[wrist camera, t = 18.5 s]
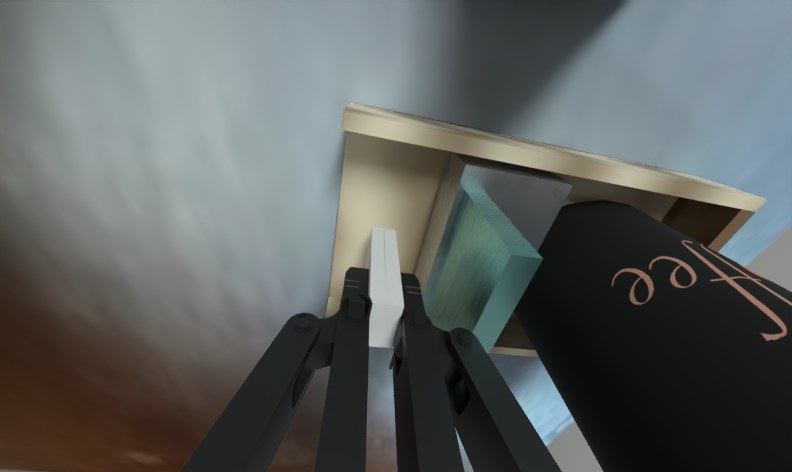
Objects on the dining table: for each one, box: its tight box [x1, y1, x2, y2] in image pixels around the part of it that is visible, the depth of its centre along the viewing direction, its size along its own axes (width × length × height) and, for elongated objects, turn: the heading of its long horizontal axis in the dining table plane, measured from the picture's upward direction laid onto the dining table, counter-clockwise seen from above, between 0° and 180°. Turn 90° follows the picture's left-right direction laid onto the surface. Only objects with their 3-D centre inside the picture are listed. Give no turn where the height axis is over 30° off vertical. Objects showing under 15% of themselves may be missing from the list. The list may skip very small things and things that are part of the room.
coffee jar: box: [514, 200, 792, 472], centre depth 14 cm, size 11×11×18 cm
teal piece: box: [414, 151, 573, 355], centre depth 16 cm, size 6×13×9 cm, turn 169°
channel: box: [325, 102, 767, 357], centre depth 19 cm, size 24×15×4 cm, turn 79°
